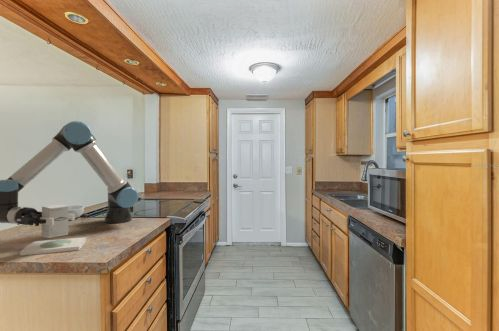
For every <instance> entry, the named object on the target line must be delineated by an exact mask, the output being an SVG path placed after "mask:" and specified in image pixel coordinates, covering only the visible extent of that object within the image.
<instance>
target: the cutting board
mask: <svg viewBox="0 0 499 331" xmlns="http://www.w3.org/2000/svg"><path fill="white" fill-rule="evenodd" d="M86 241H87V236H85V237H72V238H61V239H60V238H59V239H47V240H35V241H33V242H31V243H30V244H28V245H27V246H26V247H24V248H23V249H21V251H19V256H30V255H41V254H42V255H43V254H51V253H62V252H72V251H79V250H80V249H82V247H83V245H84V244H85V243H86Z"/></svg>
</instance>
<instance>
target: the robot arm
mask: <svg viewBox="0 0 499 331" xmlns="http://www.w3.org/2000/svg"><path fill="white" fill-rule="evenodd" d="M71 149H72V150H73V151H74V152H76V153H80V155H81V156H82V157H83V158H84V159H85V160H86V163H88V164H89V166H90V167H91V168H92V169H93V171H94V172H95V173H96V174H97V176H98V177H99V179H101V181H102V182H103V184H104V185H105V186H106V187H107V211H106V213H105V216H104V223H107V224H120V223H126V222H130V221H132V220H133V219H132V218H133V215H132V213H131V210H130V208H132V207H133V206H135V205H136V203H137V202H138V200H139V193H138V191H137V190H136V189H135V188H134V187H132V186H131V184H130V183H129V181H128V180H126V179H123V178H122V177H121V176H120V174H119V173H118V172H117V170H116V169H115V168H114V166H113V165H112V163H111V162H110V161H109V159H108V158H107V157H106V156H105V154H104V153H103V152H102V151H101V149H100V148H99V146H98V145H97V139H96V137H95V136H94V135H93V134H92V130H91V128H90V126H89V125H88V124H86V123H85V122H82V121H79V120H78V121H77V120H76V121H70V122H68V123H67V124H65V125H63V127H61V129H60V130H59V131H58V132H57V134H56V135H55V136H53V137H52V138H51V142H50V143H48V144H46V146H45V147H44V148H43V149H41V150H40V151H39V152H38V153H36V154H35V155H34V156H33V157H31V159H29V160H28V161H27V162H26V163H24V164H23V165H22V166H21V167H20V168H18V169H17V170H16V171H15V172H13V174H11V175H10V176H9V177H8V178H7V179H0V223H1V224H15V225H17V226H20V225H24V226H25V225H26V226H34V225H35V227H39V226H40V225H42V224H44V225H54V218H44V217H42V211H38V210H37V209H36V208H35V207H34V208H33V207H27V206H24V207H23V206H19V192H20V191H21V190H22V189H23V188H24V187H25V186H27V185H28V184H29V183H30V182H31V181H33V180H34V179H35V178H36V177H37V176H38V175H40V173H41V172H43V171H44V170H45V169H47V167H49V166H50V165H51V164H52V163H53V162H55V160H57V159H58V158H59V157H60V156H61V155H63V153H65V152H69V151H70V150H71ZM85 160H84V161H85ZM75 220H76V218H75V214H69V213H68V221H75Z"/></svg>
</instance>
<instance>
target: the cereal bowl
mask: <svg viewBox="0 0 499 331" xmlns="http://www.w3.org/2000/svg"><path fill="white" fill-rule="evenodd" d="M67 206H68V213H69V214H75V219H76V218H78V217H80V216H81V215H83V213H84V210H85V207H84V206H83V205H67Z"/></svg>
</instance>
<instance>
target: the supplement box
mask: <svg viewBox="0 0 499 331" xmlns="http://www.w3.org/2000/svg"><path fill="white" fill-rule="evenodd" d="M68 206H69V205H65V204H55V205H53V204H52V205H44V206H41V212H42V217H44V218H54V225H44V224H41V236H42V237H45V238H46V239H47V238H48V239H51V238H57V237H62V236H68V235H69V220H68Z"/></svg>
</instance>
